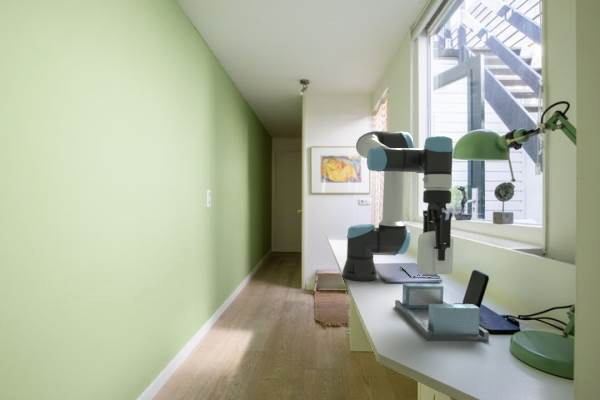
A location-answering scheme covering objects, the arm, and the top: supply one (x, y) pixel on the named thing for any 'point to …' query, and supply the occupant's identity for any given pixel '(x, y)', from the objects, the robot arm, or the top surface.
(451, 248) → the white rounded slab
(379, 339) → the top surface
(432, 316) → the vise
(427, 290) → the sliding jaw
